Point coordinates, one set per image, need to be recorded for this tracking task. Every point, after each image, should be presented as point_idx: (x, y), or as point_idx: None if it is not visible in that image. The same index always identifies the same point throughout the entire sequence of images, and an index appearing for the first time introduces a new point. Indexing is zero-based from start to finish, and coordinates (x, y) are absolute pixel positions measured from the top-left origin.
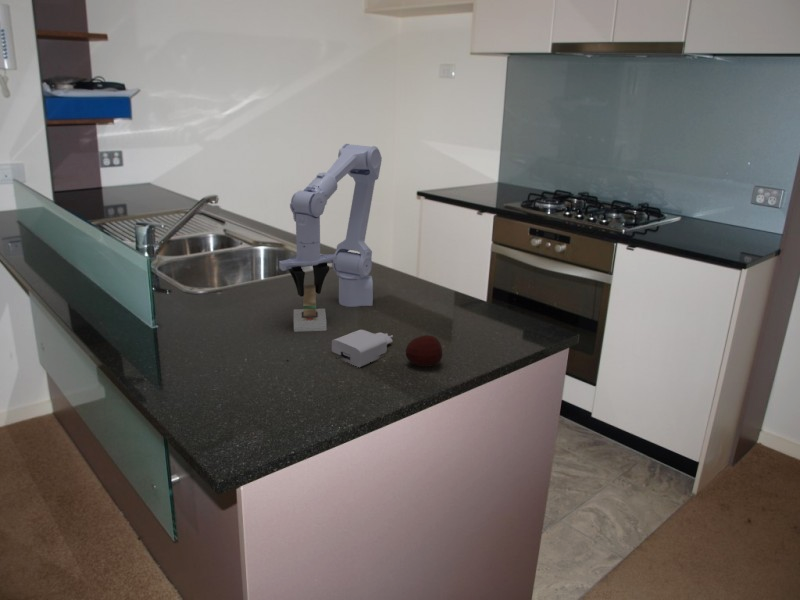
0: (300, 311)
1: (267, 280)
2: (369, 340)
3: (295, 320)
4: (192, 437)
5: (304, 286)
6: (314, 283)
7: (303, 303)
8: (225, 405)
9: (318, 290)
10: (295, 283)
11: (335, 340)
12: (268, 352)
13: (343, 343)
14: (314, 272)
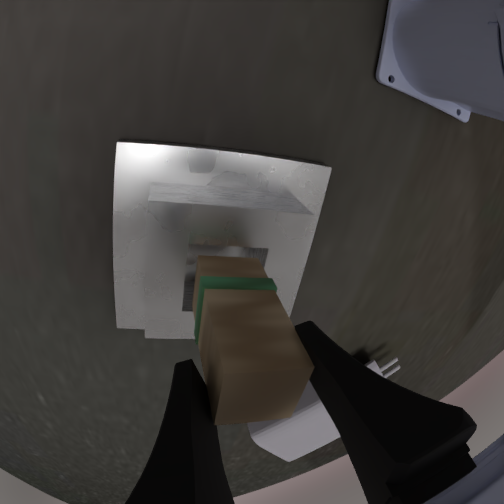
0: (183, 236)
1: None
2: (329, 438)
3: (153, 334)
4: (61, 497)
5: (230, 397)
6: (317, 359)
7: (200, 353)
8: (69, 478)
9: (309, 379)
10: (165, 427)
11: (258, 444)
12: (81, 380)
13: (271, 452)
14: (360, 427)
